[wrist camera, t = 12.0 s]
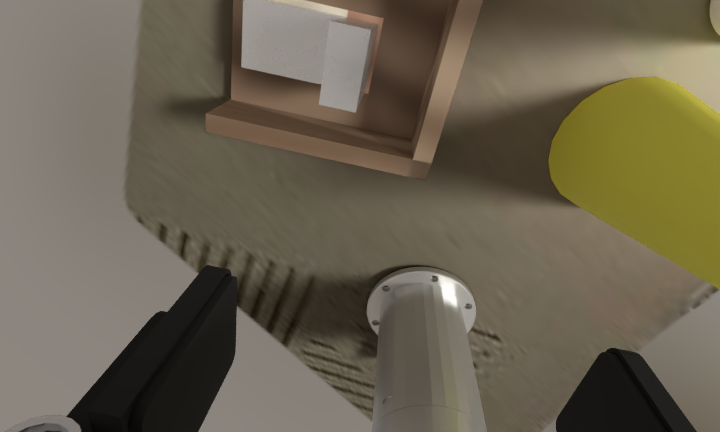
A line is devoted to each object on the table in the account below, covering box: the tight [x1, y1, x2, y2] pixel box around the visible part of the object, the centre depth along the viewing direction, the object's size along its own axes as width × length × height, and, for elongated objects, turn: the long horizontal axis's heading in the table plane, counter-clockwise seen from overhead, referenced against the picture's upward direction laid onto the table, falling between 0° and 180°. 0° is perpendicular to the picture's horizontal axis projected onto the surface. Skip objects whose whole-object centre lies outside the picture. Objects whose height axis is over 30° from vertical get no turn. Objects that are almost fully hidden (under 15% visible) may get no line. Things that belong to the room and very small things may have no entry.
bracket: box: [241, 0, 378, 113], centre depth 27 cm, size 10×5×8 cm, turn 79°
